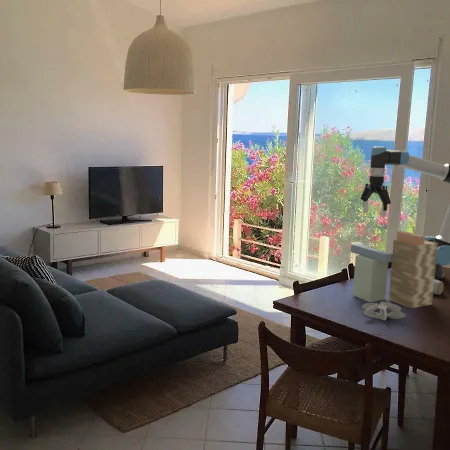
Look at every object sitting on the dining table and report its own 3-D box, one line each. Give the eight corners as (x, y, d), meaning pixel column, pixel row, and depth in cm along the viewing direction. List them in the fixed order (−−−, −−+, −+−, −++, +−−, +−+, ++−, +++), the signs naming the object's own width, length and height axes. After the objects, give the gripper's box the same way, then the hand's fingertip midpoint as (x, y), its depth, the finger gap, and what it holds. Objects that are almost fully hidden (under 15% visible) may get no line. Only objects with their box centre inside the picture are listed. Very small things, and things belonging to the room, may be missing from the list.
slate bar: (350, 252, 268) (351, 244, 267) (356, 251, 270) (357, 243, 269) (385, 262, 247) (385, 254, 246) (391, 261, 249) (392, 253, 248)
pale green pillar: (352, 295, 264) (355, 255, 260) (368, 292, 269) (370, 253, 265) (369, 302, 254) (372, 260, 250) (385, 299, 258) (388, 258, 255)
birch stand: (409, 296, 265) (414, 237, 259) (432, 304, 253) (437, 243, 247) (388, 299, 258) (393, 239, 253) (411, 308, 246) (416, 245, 241)
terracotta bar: (396, 239, 253) (397, 231, 252) (402, 239, 255) (403, 231, 254) (417, 245, 242) (418, 236, 241) (424, 244, 244) (424, 235, 243)
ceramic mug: (438, 296, 265) (439, 281, 263) (422, 293, 270) (423, 278, 269) (446, 292, 272) (447, 278, 271) (430, 289, 278) (431, 275, 277)
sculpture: (369, 307, 246) (370, 294, 245) (411, 317, 234) (413, 304, 233) (352, 317, 233) (353, 303, 232) (396, 328, 221) (398, 314, 219)
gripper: (355, 173, 290) (353, 211, 294) (389, 177, 269) (385, 218, 273) (365, 173, 294) (363, 211, 298) (399, 177, 272) (396, 218, 276)
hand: (374, 214), depth 285 cm, fingers open, 13 cm apart
